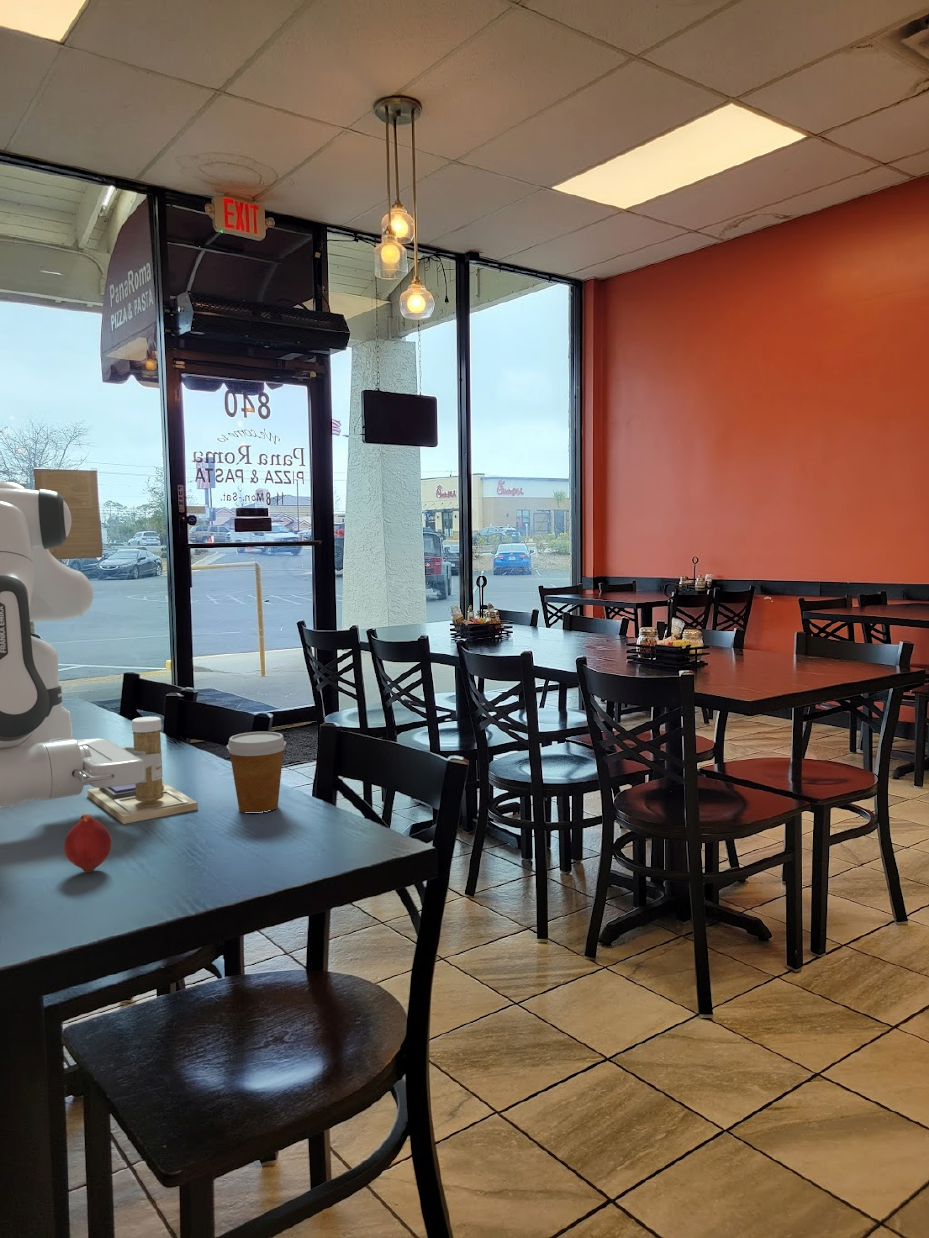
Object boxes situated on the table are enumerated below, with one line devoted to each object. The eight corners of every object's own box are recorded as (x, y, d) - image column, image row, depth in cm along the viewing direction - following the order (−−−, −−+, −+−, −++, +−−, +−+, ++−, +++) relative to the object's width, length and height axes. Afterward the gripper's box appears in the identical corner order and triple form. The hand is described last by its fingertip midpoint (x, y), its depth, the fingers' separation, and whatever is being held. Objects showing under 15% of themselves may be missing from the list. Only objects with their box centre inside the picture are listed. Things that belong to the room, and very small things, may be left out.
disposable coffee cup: (216, 814, 145) (214, 741, 144) (250, 798, 154) (248, 729, 153) (267, 819, 142) (265, 745, 141) (298, 803, 151) (296, 733, 150)
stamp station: (87, 796, 156) (86, 782, 156) (156, 784, 163) (155, 771, 163) (123, 823, 140) (122, 809, 140) (197, 809, 148) (197, 795, 147)
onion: (78, 863, 123) (75, 806, 122) (119, 863, 123) (117, 806, 122) (57, 879, 117) (54, 819, 117) (101, 879, 117) (98, 819, 116)
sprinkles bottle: (166, 799, 147) (164, 719, 146) (138, 804, 145) (134, 722, 143) (160, 793, 151) (157, 714, 150) (131, 797, 148) (128, 717, 147)
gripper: (82, 760, 131) (175, 746, 139) (48, 737, 147) (133, 726, 155) (84, 802, 131) (177, 786, 140) (49, 774, 147) (135, 761, 156)
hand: (154, 754), depth 148 cm, fingers closed on sprinkles bottle, 4 cm apart
